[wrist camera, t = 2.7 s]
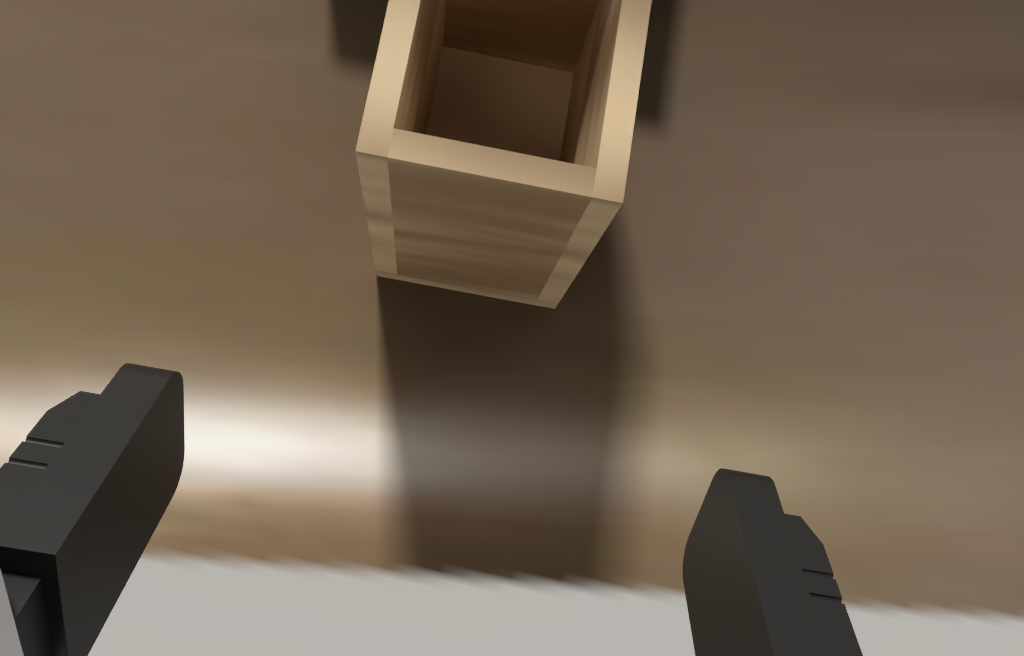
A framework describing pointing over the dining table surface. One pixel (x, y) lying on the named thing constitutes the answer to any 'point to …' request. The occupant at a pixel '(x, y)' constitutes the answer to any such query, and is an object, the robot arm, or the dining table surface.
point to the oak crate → (499, 140)
